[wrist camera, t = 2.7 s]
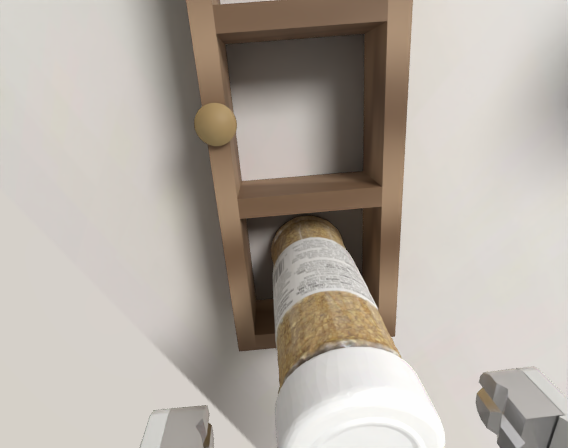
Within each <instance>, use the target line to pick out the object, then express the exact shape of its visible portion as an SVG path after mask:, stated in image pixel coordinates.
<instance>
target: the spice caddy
mask: <svg viewBox="0 0 568 448" xmlns="http://www.w3.org/2000/svg"><path fill="white" fill-rule="evenodd" d="M186 4H187V11H188V18H189V24H190V31H191V37H192V44H193V51H194V57H195V64H196V70H197V77H198V84H199V90H200V97H201V103H202V107H201V108H200V109H199V110H198V112H197V113H196V116H195V119H194V127H195V131H196V133H197V135H198V136H199V138H200V139H201V140H202V141H203V142H205V143H206V144H208V150H209V156H210V163H211V169H212V176H213V183H214V189H215V196H216V202H217V209H218V216H219V222H220V229H221V235H222V242H223V249H224V255H225V262H226V268H227V275H228V282H229V288H230V295H231V301H232V308H233V315H234V321H235V328H236V334H237V341H238V348H239V351H248V350H258V349H269V348H277V347H276V339H275V318H274V299H264V300H256V295H255V287H254V279H253V270H252V262H251V254H250V246H249V237H248V229H247V221H246V218H256V217H267V216H279V215H290V214H302V213H313V212H325V211H336V210H348V209H359V208H363V237H362V278H363V280H364V282H365V283H366V285H367V287H368V290H369V292H370V294H371V296H372V298H373V300H374V302H375V304H376V306H377V308H378V311H379V314H380V316H381V317H382V320H383V322H384V324H385V327H386V329H387V331H388V333H389V334H390V336H391V337H394V336H395V326H396V307H397V288H398V269H399V251H400V232H401V213H402V194H403V175H404V156H405V138H406V119H407V100H408V81H409V62H410V43H411V25H412V6H413V0H275V1H262V2H248V3H234V4H221V5H220V0H186ZM356 34H365V35H364V136H363V171H358V172H346V173H334V174H322V175H310V176H299V177H287V178H275V179H263V180H251V181H242V179H241V171H240V163H239V155H238V146H237V138H236V129H237V122H236V118H235V116H234V113H233V105H232V97H231V88H230V80H229V72H228V64H227V55H226V47H225V44H237V43H251V42H264V41H277V40H290V39H303V38H317V37H330V36H343V35H356Z"/></svg>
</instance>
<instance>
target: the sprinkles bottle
mask: <svg viewBox="0 0 568 448" xmlns="http://www.w3.org/2000/svg"><path fill="white" fill-rule="evenodd" d="M271 258H272V261H273V264H274V269H273V298H274V318H275V339H276V347H277V350H278V366H279V383H280V388H279V391H278V397H277V401H276V407H275V421H276V438H277V448H445V435H444V429H443V426H442V423H441V420H440V418H439V416H438V414H437V412H436V410H435V408H434V406H433V404H432V402H431V400H430V398H429V396H428V394H427V392H426V390H425V388H424V387H423V385H422V383H421V381H420V379H419V377H418V375H417V374H416V372H415V371H414V370H413V368H412V367H411V366H410V365H409V364H408V363H407V362H406V361H404V360H403V359H402V358H401V356H400V354H399V352H398V350H397V348H396V347H395V345H394V342H393V340H392V338H391V336H390V334H389V333H388V331H387V329H386V327H385V324H384V322H383V320H382V317H381V316H380V314H379V311H378V308H377V306H376V304H375V302H374V300H373V298H372V296H371V294H370V292H369V290H368V287H367V285H366V283H365V282H364V280H363V278H362V276H361V274H360V272H359V270H358V268H357V266H356V265H355V263H354V261H353V259H352V257H351V255H350V254H349V253H348V251H347V250H346V248H345V247H344V243H343V240H342V237H341V235H340V233H339V231H338V230H337V229H336V228H335V227H334V226H333V225H332V224H331V223H330V222H329V221H328V220H325V219H322V218H320V217H315V216H299V217H297V218H294V219H292V220H290V221H289V222H287V223H285V224H284V225H283V226H282V227H281V228H280V229H279V230H278V231H277V232H276V234H275V237H274V238H273V242H272V246H271Z"/></svg>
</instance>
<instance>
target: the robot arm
mask: <svg viewBox="0 0 568 448" xmlns="http://www.w3.org/2000/svg"><path fill="white" fill-rule="evenodd" d="M479 383H480V384H481V385H482V387H483V388H482V389H481V390H480V391H479V392H478V393H477V396H476V406H477V411H478V413H479V416H480V418H481V420H482V421H483V423H484V425H485V426H486V428H487V429H489V430H491V431H492V432H494V433H495V434H497V444H498V445H499V447H500V448H568V398H567V397H566V396H565V395H564V394H563V393H562V392H561V391H560V390H559V389H558V388H557V387H556V386H555V385H554V384H553V383H552V382H551V381H550V380H549V379H548V378H547V377H546V376H545V375H544V374H543V373H542V372H541V371H540V370H539V369H537V368H536V367H534V366H533V367H524V368H517V369H506V370H498V371H491V372H484V373H483V374H482V375H481V376H480V380H479ZM208 421H209V410H208V406H206V405H205V406H194V407H182V408H172V409H163V410H154V411H153V412H152V414H151V415H150V417H149V421H148V423H147V426H146V430H145V433H144V436H143V439H142V442H141V445H140V448H214V438H213V430H212V425H211V424H209V423H208Z"/></svg>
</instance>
